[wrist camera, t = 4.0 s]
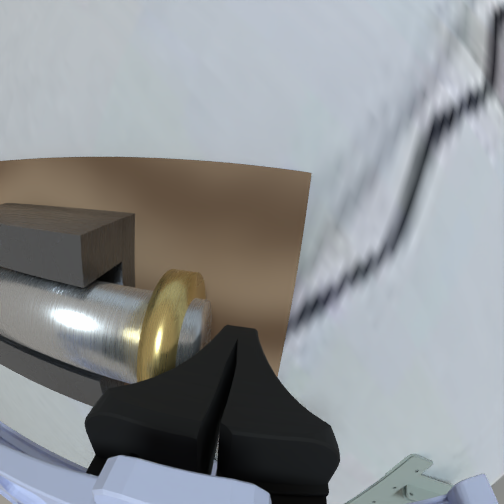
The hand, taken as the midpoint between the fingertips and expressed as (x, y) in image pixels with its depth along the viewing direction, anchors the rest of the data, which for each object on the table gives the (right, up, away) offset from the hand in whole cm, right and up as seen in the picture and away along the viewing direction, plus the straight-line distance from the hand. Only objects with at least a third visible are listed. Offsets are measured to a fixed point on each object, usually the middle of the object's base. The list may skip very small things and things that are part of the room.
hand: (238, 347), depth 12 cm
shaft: (-9, +2, +3) cm, 10 cm away
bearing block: (-10, +2, +4) cm, 12 cm away
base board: (-10, +2, +4) cm, 12 cm away
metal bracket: (+16, -22, +10) cm, 29 cm away
